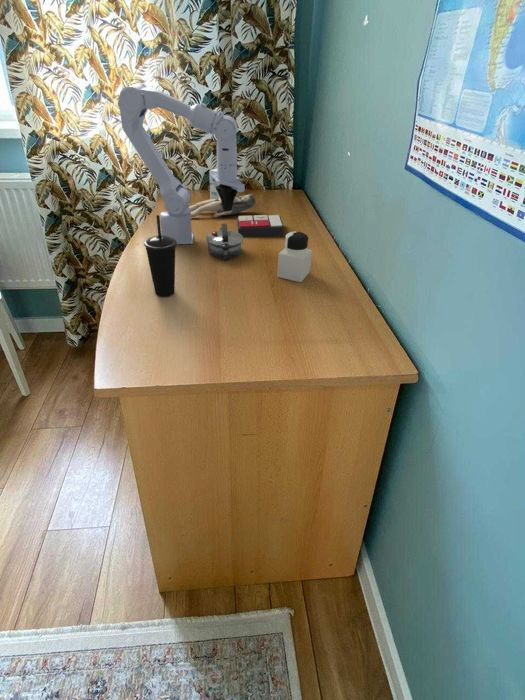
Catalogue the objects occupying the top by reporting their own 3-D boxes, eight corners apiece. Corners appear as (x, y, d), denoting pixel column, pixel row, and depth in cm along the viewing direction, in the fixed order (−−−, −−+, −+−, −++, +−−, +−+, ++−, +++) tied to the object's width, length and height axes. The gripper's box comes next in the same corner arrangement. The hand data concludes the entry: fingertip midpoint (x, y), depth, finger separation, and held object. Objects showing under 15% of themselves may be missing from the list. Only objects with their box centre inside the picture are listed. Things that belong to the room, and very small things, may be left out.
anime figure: (169, 199, 163) (250, 185, 168) (174, 219, 168) (252, 205, 172) (172, 208, 156) (257, 193, 160) (177, 228, 160) (259, 213, 165)
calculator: (236, 214, 157) (280, 213, 158) (237, 226, 159) (279, 225, 160) (238, 226, 148) (284, 224, 149) (238, 239, 150) (283, 237, 151)
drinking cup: (154, 302, 112) (146, 223, 100) (146, 288, 117) (136, 212, 106) (184, 296, 115) (179, 219, 103) (174, 283, 120) (168, 208, 109)
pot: (208, 261, 133) (208, 249, 131) (207, 237, 147) (207, 227, 145) (242, 260, 134) (242, 249, 132) (238, 237, 148) (238, 227, 146)
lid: (244, 249, 131) (245, 240, 130) (206, 249, 130) (206, 240, 129) (241, 232, 142) (241, 223, 140) (206, 232, 141) (206, 223, 139)
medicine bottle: (309, 273, 129) (314, 232, 122) (300, 283, 124) (305, 241, 117) (286, 267, 132) (289, 227, 125) (276, 277, 126) (279, 235, 119)
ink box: (235, 202, 178) (235, 170, 171) (229, 205, 174) (229, 173, 167) (215, 198, 180) (215, 167, 174) (209, 202, 177) (208, 170, 170)
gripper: (253, 166, 128) (252, 214, 136) (223, 156, 137) (224, 201, 145) (233, 170, 124) (233, 219, 132) (204, 159, 134) (206, 205, 141)
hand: (227, 210), depth 138 cm, fingers closed
